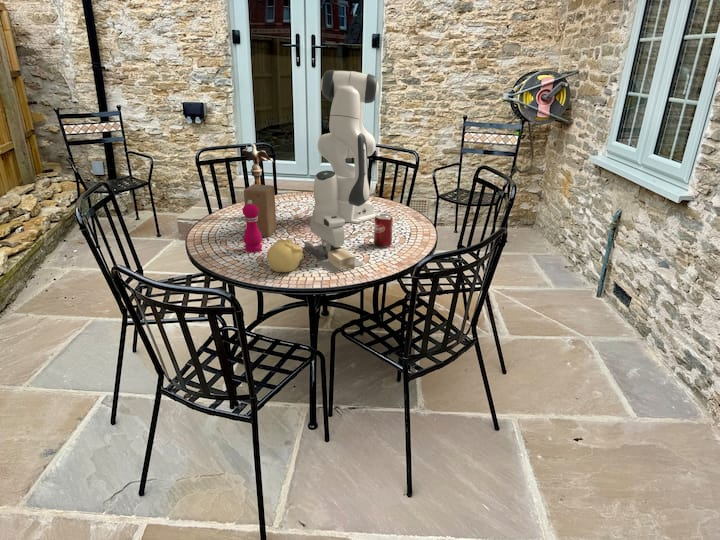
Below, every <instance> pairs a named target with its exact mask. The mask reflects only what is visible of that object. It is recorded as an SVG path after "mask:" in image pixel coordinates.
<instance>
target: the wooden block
mask: <svg viewBox="0 0 720 540" xmlns="http://www.w3.org/2000/svg"><path fill="white" fill-rule="evenodd" d="M275 197H276V196H275V185H268V184H260V185H257V184H255V183H253V184H251V185H249V186H248V187H246V188H245V189H243V200H244V206H245V205H246V204H248V203H247V202H248V200H251V201H252V204H255V205H256V206H257V207H258V210H259V212H258V214H257V216H258V220H257V227H258V230H259V231H260V233H261V235H262V238H269V237H271V235H273V234H274V233H275V232H276V231H277V228H278V227H277V215H276V214H277V213H276V198H275Z"/></svg>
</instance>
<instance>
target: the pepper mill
mask: <svg viewBox="0 0 720 540" xmlns="http://www.w3.org/2000/svg"><path fill="white" fill-rule="evenodd" d="M247 203H248V204H246V205H245V204H244V205H243V207H242V214H243V215H244V217H243V218H244V222H245V225H246V227H245V230H244V234H243V238H242V239H243V243H244V244H245V246H244V249H245V252H247V253H258V252H261V251H262V249H263V247H262V241H263V237H262V235H261V233H260V231H259V230H258V227H257V220H258V216H257V214H258V212H259V210H258V207H257V206H256V205H255V204H252V201H251V200H248V202H247Z"/></svg>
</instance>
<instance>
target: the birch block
mask: <svg viewBox="0 0 720 540" xmlns="http://www.w3.org/2000/svg"><path fill="white" fill-rule="evenodd" d="M355 259H356V258H355V255H353V254H352V253H350V252H349V251H347V250H346V249H344V248H343V249H337V250H332V251H328V259H327V260H328V262H330V263H331V264H332V265H334V266H335V267H337V268H338V269H339V270H342V271H344V270H343V269H346V270H348V269H347V268H350V269H352V268H351V267H354V268H356V267H355Z"/></svg>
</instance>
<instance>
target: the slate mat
mask: <svg viewBox="0 0 720 540" xmlns="http://www.w3.org/2000/svg"><path fill="white" fill-rule="evenodd" d="M316 263H317V264H318V265H320V266H321V267H322V268H324V269H326V270H327V271H328V272H329V274H333V273H337V272H341V270H339V269H338V268H337V267H335V266H334V265H332V264H331V263H330V262H328V259H326V260H320V261H316ZM363 265H364V263H363V262H361V261H360V260H358V259H357V258H355V267H354V268H358V267H361V266H363ZM354 268H353V267H351V268H350V269H354ZM346 270H349V268H347V269H346ZM342 271H345V269H343V270H342Z"/></svg>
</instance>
